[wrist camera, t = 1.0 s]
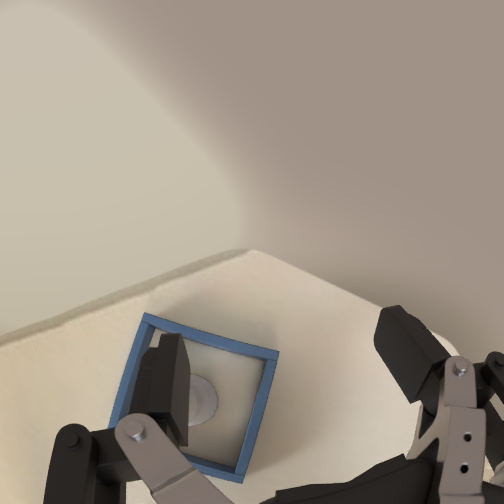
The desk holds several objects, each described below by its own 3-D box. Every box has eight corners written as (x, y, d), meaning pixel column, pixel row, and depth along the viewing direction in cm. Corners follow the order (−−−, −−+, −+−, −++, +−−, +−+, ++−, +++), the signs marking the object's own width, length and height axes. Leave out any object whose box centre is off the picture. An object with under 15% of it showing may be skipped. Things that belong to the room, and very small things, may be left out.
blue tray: (150, 317, 23) (144, 311, 22) (277, 354, 22) (279, 351, 20) (114, 431, 18) (105, 434, 16) (242, 477, 17) (242, 484, 15)
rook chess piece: (222, 422, 19) (211, 439, 12) (170, 425, 19) (134, 441, 12) (214, 371, 21) (198, 363, 14) (162, 376, 21) (125, 368, 14)
